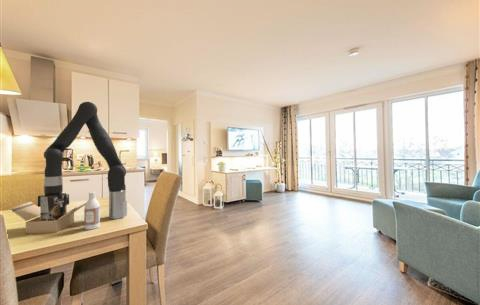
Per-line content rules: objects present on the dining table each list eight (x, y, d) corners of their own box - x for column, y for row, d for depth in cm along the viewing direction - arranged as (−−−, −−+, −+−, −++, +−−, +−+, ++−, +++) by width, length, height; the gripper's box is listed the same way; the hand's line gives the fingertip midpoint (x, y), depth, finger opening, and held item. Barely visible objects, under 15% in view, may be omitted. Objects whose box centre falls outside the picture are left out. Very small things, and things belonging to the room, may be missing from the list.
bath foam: (81, 230, 107) (81, 193, 107) (88, 225, 114) (88, 191, 114) (96, 229, 109) (96, 193, 108) (102, 224, 115) (102, 190, 115)
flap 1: (45, 212, 115) (30, 201, 114) (26, 220, 103) (9, 207, 102) (45, 213, 115) (30, 202, 114) (25, 220, 103) (8, 208, 102)
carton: (74, 222, 119) (74, 212, 119) (56, 232, 105) (56, 220, 105) (47, 223, 116) (47, 213, 116) (25, 233, 103) (25, 222, 102)
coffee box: (49, 227, 106) (49, 196, 105) (40, 226, 107) (39, 196, 107) (67, 220, 115) (67, 193, 114) (58, 220, 116) (58, 192, 116)
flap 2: (58, 218, 106) (75, 207, 107) (73, 211, 118) (88, 201, 119) (58, 219, 106) (76, 208, 107) (74, 212, 118) (89, 202, 119)
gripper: (72, 182, 115) (72, 210, 116) (44, 183, 113) (44, 212, 113) (63, 185, 108) (63, 215, 108) (32, 185, 106) (33, 216, 106)
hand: (53, 213), depth 111 cm, fingers closed on coffee box, 7 cm apart
